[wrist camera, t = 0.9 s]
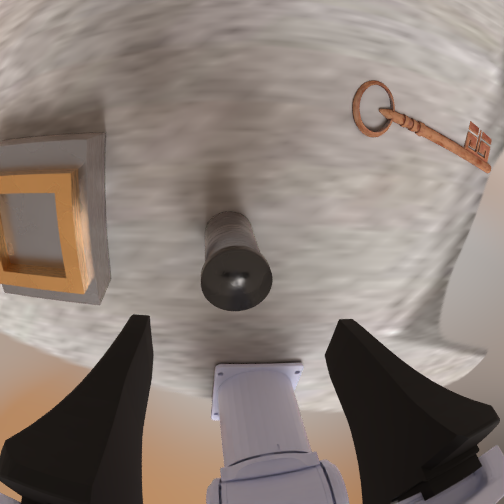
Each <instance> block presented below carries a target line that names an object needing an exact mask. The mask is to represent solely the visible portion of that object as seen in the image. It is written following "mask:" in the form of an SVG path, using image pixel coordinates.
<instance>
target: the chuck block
mask: <svg viewBox="0 0 504 504" xmlns="http://www.w3.org/2000/svg"><path fill="white" fill-rule="evenodd" d="M105 137H106V133H80V134H61V135H47V136H36V137H26V138H17V139H9V140H4V141H1V142H0V284H2V286H3V289H4V292H5V293H11V294H18V295H24V296H31V297H37V298H45V299H52V300H60V301H68V302H76V303H85V304H94V305H100V304H101V302H102V299H103V297H104V294H105V292H106V290H107V288H108V285H109V283H110V281H111V273H110V264H109V253H108V242H107V228H106V209H105Z"/></svg>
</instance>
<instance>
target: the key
mask: <svg viewBox="0 0 504 504" xmlns="http://www.w3.org/2000/svg"><path fill="white" fill-rule="evenodd" d="M371 85H380V86H381V87H383V88H384V89H385V90H386V92H387V93H388V95H389V98H390V102H391V109H379V112H380V113H382V115H383V116H384V117H385V118H386V119H388V121H387V123H386V125H385V126H384V127H383V128H382V129H380V130H379V131H376V132H372V131H370V130H368V129H367V128H366V127H365V126H364V124H363V123H362V120H361V117H360V112H359V105H360V100H361V97H362V94H363V93H364V91H365V90H366V89H367V88H368V87H369V86H371ZM353 116H354V120H355V123H356V125H357V126H358V128H359V129H360V131H361V132H362V133H363V134H365V135H366V136H369V137H378V136H380V135H382V134H384V133H385V132H386V131H387V130H388V129H389V127H390V125H391V123H392V121H393V122H395V123H398V124H400V126H402V127H406V128H408V130H410V131H415V133H416V134H417V135H418V136H423V137H425V138H427V139H429V140H431V141H433V142H435V143H436V144H438V145H440V146H442V147H444V148H446V149H448V150H449V151H451V152H453V153H455V154H456V155H458V156H460V157H462V158H463V159H465V160H467V161H468V162H470V163H472V164H473V165H475V166H476V167H478V168H480V169H481V170H483V171H484V172H486V173H489V172H490V171H491V166H490V165H489V164H488V163H487V161H488V156H489V151H490V147H489V146H488V145H487V144H485V143H484V142H483V141H480V137H481V130H480V134H479V138H478V142H477V137H476V136H474V135H473V134H471V133H470V132H468V133H467V137H466V141H465V145H464V148H463V147H462V146H460V145H458V144H457V143H455V142H453V141H452V140H450V139H448V138H447V137H445V136H443V135H441V134H440V133H438V132H436V131H434V130H432V129H431V128H429V127H427V126H425V124H424V123H421V122H417V121H416V120H414V119H412V118H411V119H410V118H408V116H406V115H401V114H399V113H397V112H395V106H394V100H393V96H392V94H391V92H390V90H389V89H388V88H387V87H386V86H385V85H384V84H383V83H381V82H379V81H368V82H366V83H364V84H363V85H361V87H360V88H359V89H358V91H357V92H356V95H355V97H354V101H353ZM469 130H471V131H472V132H474V133H475V134H477V135H478V132H479V128H478V127H477V126H476V125H475V124H473V123H472V122H471V121H470V125H469ZM482 139H483V140H485V141H486V142H487V143H489V144H490V145H491V139H490V138H489V137H488V136H487V135H486V134H485V133H484V132H483V134H482ZM469 140H470V142H469ZM479 142H480V145H479ZM476 143H477V146H476ZM468 145H469V146H470V147H472V148H474V149H475V148H476V149H475V151H473V150H472V149H470V148H468ZM478 147H479V149H478ZM477 152H479V153H481V154H482V155H484V157H482V156H480V155H479V154H477ZM484 152H485V153H484Z"/></svg>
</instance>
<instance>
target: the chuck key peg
mask: <svg viewBox="0 0 504 504" xmlns="http://www.w3.org/2000/svg"><path fill="white" fill-rule="evenodd" d="M271 286H272V273H271V270H270V267H269V264H268V262H267V260H266V259H265V257H264V256H263V255H262V254H261V253H260V250H259V248H258V245H257V242H256V239H255V236H254V233H253V230H252V227H251V224H250V222H249V221H248V219H247V218H246V217H244V216H243V215H241V214H239V213H236V212H222V213H220V214H218V215H216V216H214V217H213V218H212V219H211V220H210V221H209V223H208V224H207V227H206V230H205V263H204V266H203V268H202V272H201V288H202V291H203V294H204V296H205V297H206V299H207V300H208V301H209V302H210V303H211V304H213V305H214V306H216V307H218V308H220V309H223V310H227V311H242V310H246V309H249V308H252V307H254V306H256V305H257V304H259V303H260V302H262V301H263V300H264V299H265V297H266V296H267V295H268V293H269V291H270V289H271Z"/></svg>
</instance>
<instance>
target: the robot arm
mask: <svg viewBox="0 0 504 504" xmlns="http://www.w3.org/2000/svg"><path fill="white" fill-rule="evenodd" d="M153 355H154V354H153V345H152V336H151V326H150V316H147V315H134V314H133V315H132V316H131V317H130V318H129V320H128V322H127V323H126V325H125V326H124V328H123V329H122V331H121V332H120V334H119V335H118V337H117V338H116V340H115V341H114V342H113V344H112V345H111V346H110V348H109V349H108V350H107V352H106V353H105V354H104V356H103V357H102V358H101V359H100V361H99V362H98V363H97V364H96V365H95V367H94V368H93V369H92V370H91V372H90V373H89V374H88V375H87V376H86V377H85V378H84V379H83V381H82V382H81V383H80V384H79V385H78V386H77V387H76V388H75V389H74V390H73V391H72V392H71V393H70V394H69V395H67V396H66V397H65V398H64V399H63V400H62V401H61V402H60V403H59V404H58V405H56V406H55V407H54V408H53V409H52V410H50V411H49V412H48V413H46V414H45V415H44V416H42V417H41V418H40V419H38V420H37V421H36V422H34V423H33V424H32V425H30V426H29V427H27V428H25V429H24V430H22V431H21V432H19V433H17V434H16V435H14V436H12V437H11V438H9V439H7V440H6V441H5V443H4V446H3V448H2V451H1V455H0V481H1V482H2V483H4V484H5V485H6V486H8V487H9V488H11V489H12V490H14V491H15V492H17V493H18V494H19V495H21V496H22V501H21V503H20V502H18V501H17V500H15V499H12V498H10V497H8V496H6V495H4V494H2V493H0V504H143V498H142V435H143V426H144V420H145V414H146V408H147V402H148V396H149V391H150V385H151V380H152V368H153ZM325 358H326V363H327V367H328V371H329V375H330V378H331V380H332V383H333V386H334V388H335V391H336V393H337V396H338V398H339V400H340V403H341V405H342V408H343V410H344V413H345V415H346V418H347V420H348V423H349V426H350V430H351V433H352V438H353V441H354V445H355V450H356V454H357V460H358V465H359V472H360V479H361V487H362V500H363V504H496V503H497V502H498V501H499V500H500V499H501V498H502V497H503V496H504V455H503V454H502V452H501V450H500V448H499V446H498V445H496V446H495V447H493V448H491V449H490V450H489V451H487V452H486V453H484V454H483V455H482V456H480V457H479V458H478V457H477V455H476V453H478V451H479V448H478V446H477V444H478V443H479V442H481V441H482V440H483V439H484V438H485V437H486V436H487V435H488V434H489V433H490V432H491V431H492V430H493V429H494V428H495V427H496V426H497V425H498V424H499V422H500V418H499V417H498V415H497V414H496V412H495V410H494V409H493V407H492V406H491V405H487V404H484V403H481V402H478V401H474V400H471V399H469V398H466V397H463V396H461V395H459V394H456V393H454V392H452V391H450V390H447V389H446V388H444V387H442V386H440V385H438V384H437V383H435V382H433V381H431V380H430V379H428V378H427V377H425V376H423V375H422V374H420V373H419V372H417V371H416V370H414V369H413V368H412V367H410V366H409V365H408V364H406V363H405V362H404V361H402V360H401V359H400V358H398V357H397V356H396V355H395V354H393V353H392V352H391V351H390V350H389V349H387V348H386V347H385V346H384V345H383V344H382V343H380V342H379V341H378V340H377V339H376V338H375V337H373V336H372V335H371V334H370V333H369V332H368V331H366V330H365V329H364V328H363V327H362V326H361V325H359V324H358V323H357V322H356V321H354V320H353V319H339V321H338V324H337V326H336V329H335V331H334V334H333V336H332V339H331V341H330V344H329V346H328V348H327V351H326V353H325ZM303 369H304V366H303V364H302V363H277V364H218V365H217V366H216V367H215V375H214V386H213V398H212V410H211V419H212V420H220V428H221V438H222V448H223V457H224V466H225V467H224V468H221V469H220V472H221V478H216V479H214V480H213V481H212V483H211V484H210V485H209V486H208V489H207V496H206V501H207V502H206V503H207V504H349V499H348V494H347V490H346V487H345V483H344V481H343V478H342V476H341V473H340V471H339V470H338V468H337V466H336V465H334V464H333V463H331V462H329V461H328V460H321V461H319V458H318V455H317V452H312V451H311V448H310V444H309V441H308V438H307V434H306V430H305V427H304V424H303V420H302V417H301V414H300V410H299V407H298V403H297V400H296V396H295V393H294V391H295V388H296V386H297V383H298V381H299V378H300V376H301V374H302V371H303ZM220 372H221V373H220Z"/></svg>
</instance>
